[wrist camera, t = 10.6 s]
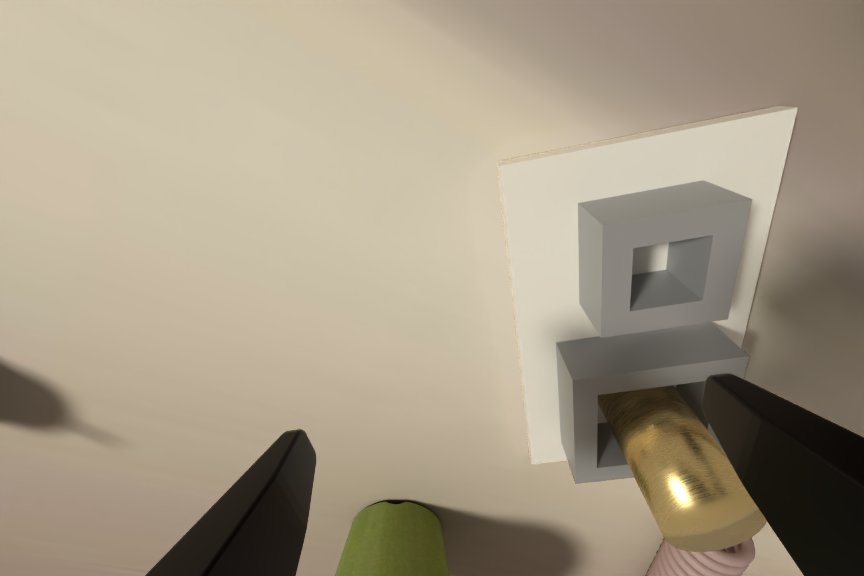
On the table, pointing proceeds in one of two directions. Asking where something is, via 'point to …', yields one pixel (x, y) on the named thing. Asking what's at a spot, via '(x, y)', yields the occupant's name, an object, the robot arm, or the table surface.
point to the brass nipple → (681, 470)
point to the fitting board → (635, 271)
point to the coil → (702, 561)
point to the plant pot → (394, 543)
